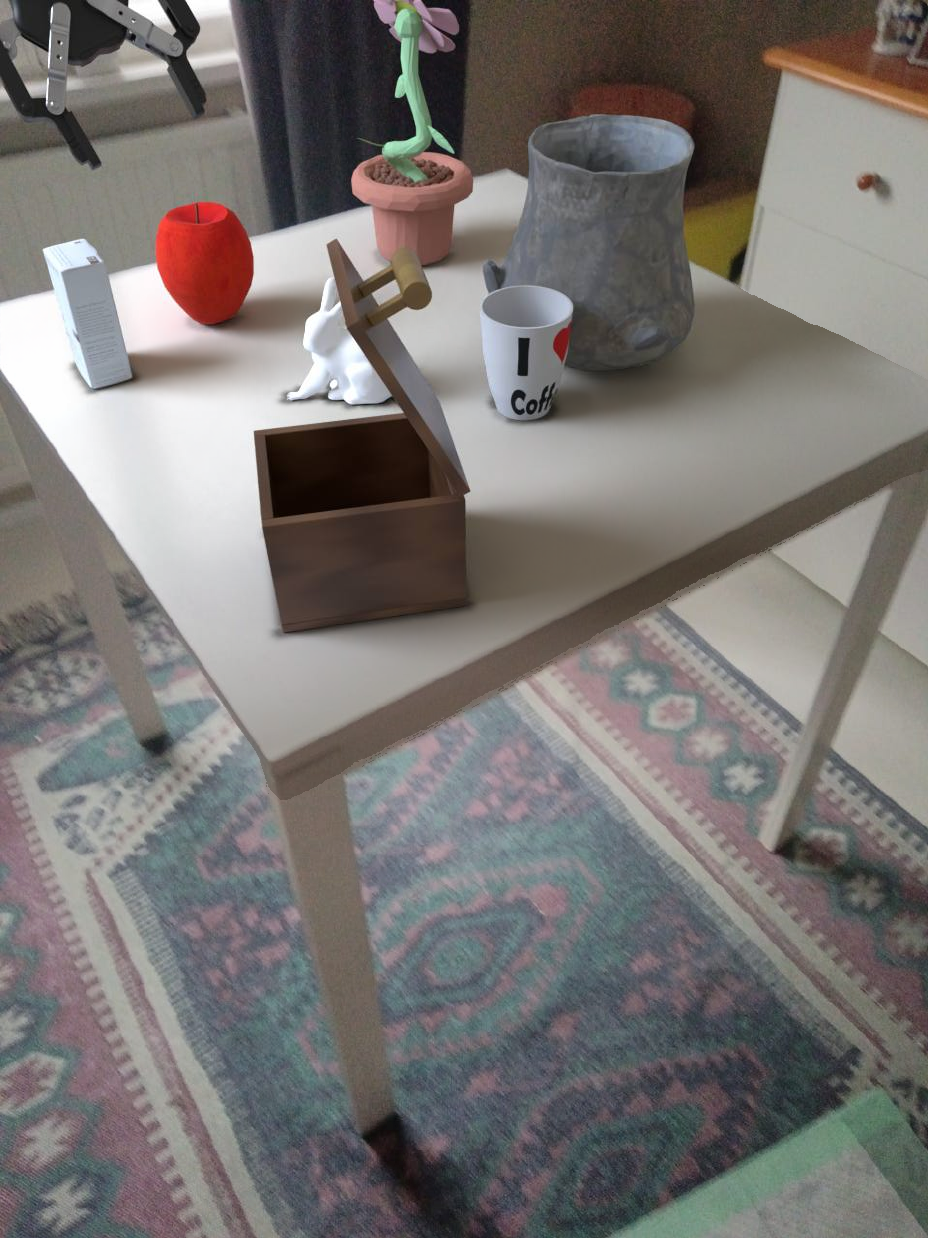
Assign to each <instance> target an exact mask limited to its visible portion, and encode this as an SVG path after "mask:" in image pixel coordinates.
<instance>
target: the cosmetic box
mask: <svg viewBox="0 0 928 1238" xmlns="http://www.w3.org/2000/svg"><path fill="white" fill-rule="evenodd" d="M42 253H43V256H44V259H45V262H46V266H47V268H48V272H49V276H50V279H51V283H52V286H53V291H54V294H55V297H56V301H57V304H58V307H59V311H60V315H61V318H62V321H63V325H64V328H65V331H66V335H67V338H68V342H69V346H70V349H71V352H72V356H73V359H74V362H75V365H76V367H77V369H78V372H79V373H80V374H81V376H82V377H83V379H84V381H85V382H86V383H87V385H88V386H89V387H90V389H93V390H96V389H100V388H105V387H109V386H112V385H115V384H120V383H122V382H125V381H128V380H130V379H132V378H133V372H132V368H131V364H130V360H129V356H128V352H127V351H128V350H127V347H126V344H125V339H124V335H123V331H122V326H121V322H120V318H119V314H118V310H117V305H116V302H115V297H114V293H113V289H112V286H111V282H110V278H109V272H108V269H107V266H106V262H105V261H104V259H103V258H102V257H101V255H99V253H98V251H97V249H96V248H95V247H94V246H92V245H91V244H90V243H89V242H88V240H87V239H86V238H79V239H75V240H72V241H67V242H63V243H58V244H54V245H51V246H48V247H45V248H43V249H42Z"/></svg>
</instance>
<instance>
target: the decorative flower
mask: <svg viewBox="0 0 928 1238" xmlns="http://www.w3.org/2000/svg"><path fill="white" fill-rule="evenodd" d="M372 1H373V7H374V10H375V11H376V13H377V16H378V17H379V20H380V21H381V22H382V23H384V24H385V25H386V24H388V25H389V26H390V27H391V28H389V29H388V30H389V33H390V34H391V35H392V37H394V38H395V39H396V40H397V41H399V42H400V43H401V44H400V45H401V47H400V63H401V70H402V74H401V75H400V76H399V77H398V79H397V81H396V87H395V92H394V98H397V99H400V98H402V97H404V96H406V98H407V101H408V104H409V108H410V111H411V113H412V117H413V120H414V121H413V122H414V125H415V136H414V137H411V138H409V139H407V140H394V141H388V142H386V143H385V144H378V143H375V142H372V141H368V140H366V139H363V138H360V137H357V140H360V141H363V142H365V143H367V144H370V145H374V146H376V147H382V148H381V154H378V155H375V156H374V157H371V158H370V159H367V160H363V161H362V162H360V163H359V164H358V165H357V167H356V168H355V169H354V170H353V171H352V175H351V178H350V179H351V180H350V181H351V190H352V195H354V196H355V197H356V198H357V199H358V200H360V201H361V202H362V203H364V204H367V205H370V206H371V209H372V216H373V225H374V226H373V227H374V232H375V233H374V234H375V241H376V246H377V250H378V253H379V254H380V255H381V256H382V257H383V258H384V259H385V260H387V261H389V262H391V257H392V255H393V253H394V252H395V251H396V250H398V249H400V248H404V247H406V248H410V249H412V250H414V251H415V252H416V254H417V255H418V258H419V260H420V263H421V265H422V266H427V265H430V264H434V263H437V262H441V260H443V259H444V258H446V257H447V255H448V254H449V253H450V250H451V246H452V242H453V241H452V239H453V228H454V227H453V226H454V217H455V205H457V204H459V203H461V202H463V201H465V200H466V199H468V198H469V197H470V195H471V194H472V193H473V192H474V191H473V190H474V178H473V177H474V176H473V174H472V171H471V169H470V167H468V165H466V163H464V162H463V161H462V160H459V159H457V158H455V157H452V156H450V155H447V154H443V153H438V152H431V151H429V152H428V151H426V150H427V149H428V148H429V147H430V146H431V144H432V139H433V140H434V142H435V143H436V144H437V145H438V146H440V147H441V148H443V149H444V150H446V151H447V152H449V153H451V154H453V155H454V154H455V150H454V149H453V147H452V145H451V144H450V143H449V142H448V140H447V139H446V138H445V136H443V135H442V134H441V133H440V132H438V130H437V129H435V128H433V126H432V119H431V114H430V111H429V108H428V104H427V101H426V97H425V94H424V89H423V86H422V83H421V80H420V76H419V51H421V52H424V53H425V54H426V53H427V54H434V53H436V52H438V51H441V52H444V53H448V52H451V51H454V50H455V49H456V44H455V43H454V41H453V40H452V39H451V38H449V37H448V36H447V35H445V34H443V32H441V31H439V30H438V29H440V30H442V31H444V32H446V33H448V34H451V35H452V36H456V35H457V34H458V33H459V32H460V25H459V22H458V20H457V19H458V18H457V17H456V15H455V14H454V13H453V12H452V11H451V10H450V9H449V8H441V7H427V6H426V5H425V3H424V2H423V1H422V0H372ZM435 27H436V28H435ZM437 28H438V29H437Z"/></svg>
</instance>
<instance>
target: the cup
mask: <svg viewBox="0 0 928 1238" xmlns="http://www.w3.org/2000/svg"><path fill="white" fill-rule="evenodd" d="M572 314H573V304H572V302H571V300H570V299H569V298H568V297H567V296H566V295H564V294H562V293H561V292H558V291H556V290H553V289H550V288H546V287H540V286H529V285H523V286H511V287H506V288H502V289H499V290H496V291H494V292H492V293H490V294H489V293H488V294H487V295H485V296H484V297H483V298H482V299H481V301H480V304H479V315H480V327H481V328H480V329H481V343H482V354H483V361H484V365H485V370H486V377H487V382H488V387H489V389H490V392H491V395H492V398H493V401H494V404H495V406H496V409H497V412H499V414H501V415H502V416H503V417H505V418H507V419H510V420H514V421H533V420H537V419H540V418H542V417H544V416H546V415H547V414H548V413H549V411H550V409H551V407H552V404H553V403H554V400H555V398H556V395H557V392H558V389H559V387H560V384H561V381H562V377H563V373H564V368H565V365H564V364H565V360H566V356H567V352H568V344H569V337H570V329H571V321H572Z"/></svg>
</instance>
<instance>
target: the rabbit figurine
mask: <svg viewBox="0 0 928 1238" xmlns="http://www.w3.org/2000/svg"><path fill="white" fill-rule="evenodd" d="M337 295H338V291H337V286H336V282H335V278H334V276H331V277H329V278H328V279H327V280H326V282H325V283H324V289H323V294H322V298H321V304H320V309H319V310H318V311H317V312H315V313H313V314H312V315H310V316H309V317H308V318H307V320H306V322H305V326H304V327H305V329H304V335H303V342H302V343H303V347H304V349H305V350H306V351H308V352H310V353H311V357H312V361H313V365H312V367H311V369H310V371H309V373H308V375H307V377H305V379H304V381H303V383H302V384H301V386H300V388H299V390H298V391H290V392H288V393H287V395H286V397H287V398H286V400H290V401H293V400H306V399H308V398H310V397H311V396H313V395H315V394H317V393H319V392H321V391H322V390H323V389H326V387H327V386H328V385H329V387H330V388H331V389H329V391H328V394H327V397H328V399H329V400H331V401H340V400H344V401H345V402H346V403H347V404H349V405H364V404H379V403H383V402H385V401H386V400H387V399H389V398H393V396H392V395H391V393H390V392H389V390H388V389H387V387H386V386H385V384H384V383H383V381H382V380H381V378H380V377H379V376H378V374H377V373H376V371H375V370H374V368H373V367H372V365H371V364H370V362H369V361H368V359H367V358H366V356H365V355H364V353H363V352H362V350H361V349H360V347H359V346H358V344H357V343H356V341H355V340H354V338H353V337H352V335H351V334H350V333H349V331H348V330H347V328H343V327H341V326H340V325H339V324H338V321H339V320H341V319H342V318H344V315H343V311H342V307H341V303H340V301H339V302H338V303H337V304H335V302H336V297H337ZM395 332H396V333H397V331H396V330H395ZM332 379H333V380H332Z"/></svg>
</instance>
